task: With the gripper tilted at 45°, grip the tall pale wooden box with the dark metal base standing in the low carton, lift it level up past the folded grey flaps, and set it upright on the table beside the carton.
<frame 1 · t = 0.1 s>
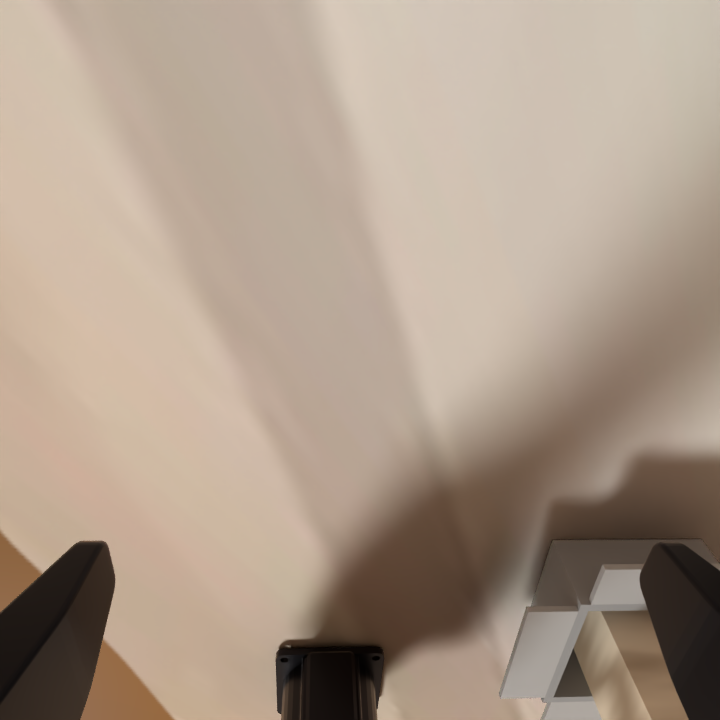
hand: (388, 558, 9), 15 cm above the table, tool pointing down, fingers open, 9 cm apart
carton: (606, 590, 34), on the table
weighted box: (643, 664, 30), in the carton
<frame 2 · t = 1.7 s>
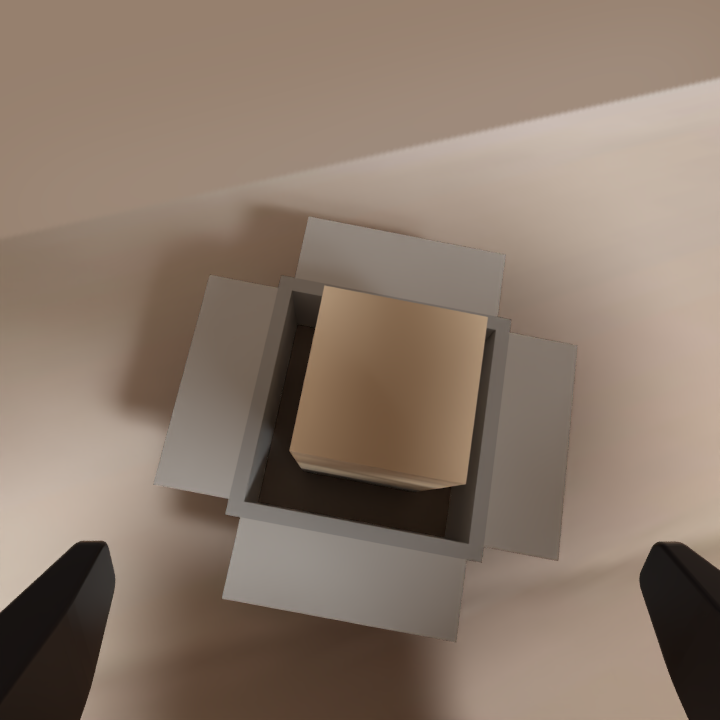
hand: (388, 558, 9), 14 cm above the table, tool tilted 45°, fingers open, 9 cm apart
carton: (368, 426, 24), on the table
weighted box: (377, 409, 19), in the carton
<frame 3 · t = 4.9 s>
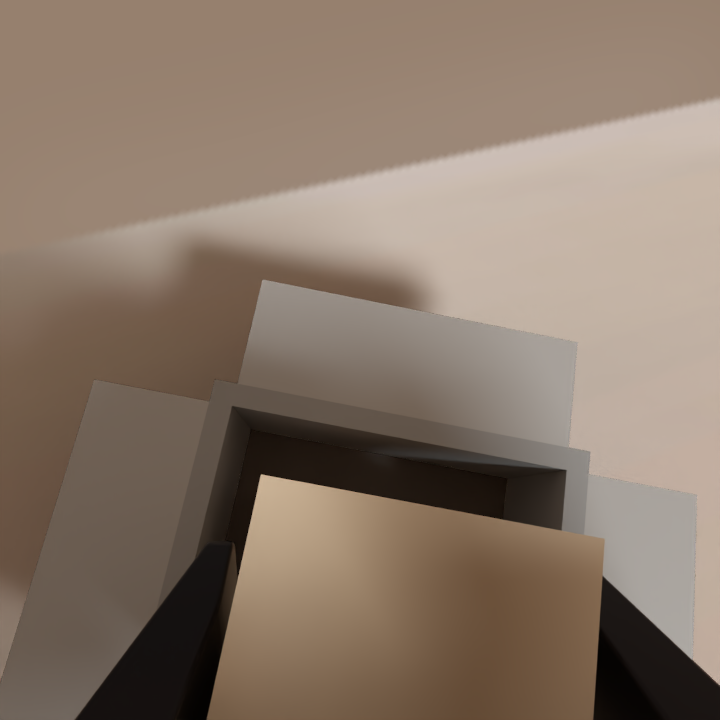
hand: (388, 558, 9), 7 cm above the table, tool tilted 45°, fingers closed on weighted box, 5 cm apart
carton: (356, 592, 15), on the table
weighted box: (371, 624, 11), in the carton, touching gripper
when the fingers open (8 cm above the table, at t = 10.0 s): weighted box drops 1 cm, on the table.
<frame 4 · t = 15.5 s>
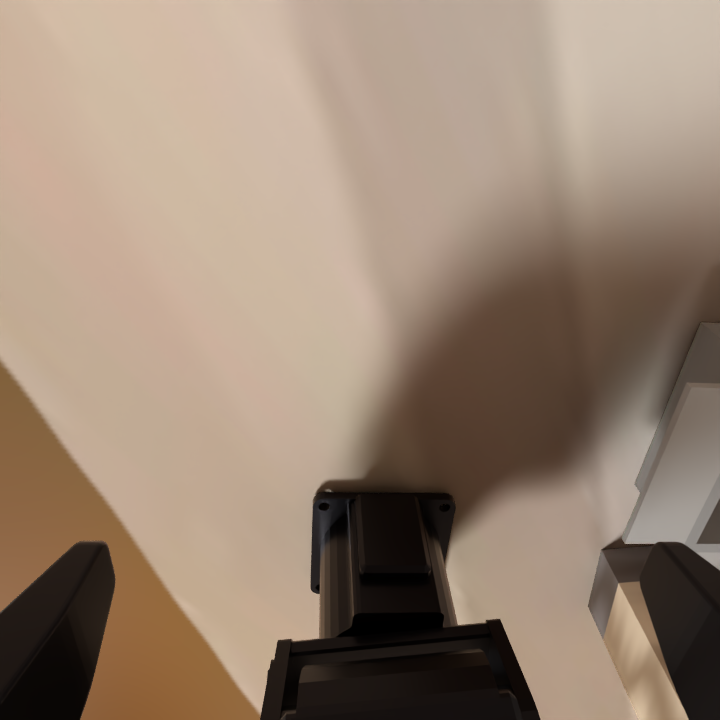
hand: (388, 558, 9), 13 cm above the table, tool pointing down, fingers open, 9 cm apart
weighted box: (681, 656, 26), on the table
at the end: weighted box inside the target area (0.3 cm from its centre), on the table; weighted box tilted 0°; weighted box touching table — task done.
